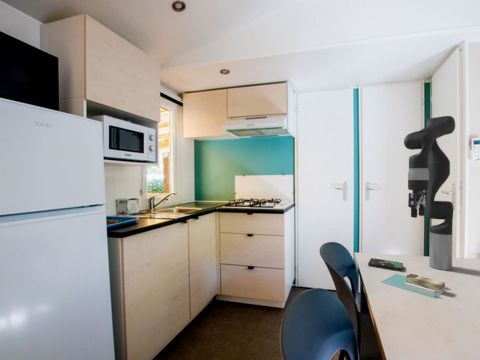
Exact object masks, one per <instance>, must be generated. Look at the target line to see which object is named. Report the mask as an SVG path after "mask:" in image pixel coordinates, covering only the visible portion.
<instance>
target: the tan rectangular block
mask: <svg viewBox="0 0 480 360" xmlns="http://www.w3.org/2000/svg"><path fill="white" fill-rule="evenodd" d="M405 276H406V283H410V284H414V285H417V286H421V287H424V288H428V289H432V290H435V293H438V294H441V295H442V294H444V293H445V292H446V291H445V287H446V282H445V281H440V280H436V279H432V278H430V277H429V278H428V277H425V276H421V275H418V274H414V273H409V274H407V275H405ZM443 292H444V293H443Z"/></svg>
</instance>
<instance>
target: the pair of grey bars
mask: <svg viewBox="0 0 480 360" xmlns="http://www.w3.org/2000/svg"><path fill="white" fill-rule="evenodd" d="M405 288H406V289H410V290H413V291H416V292H420V293H423V294H427V295H430V296H433V297H434V296H435V290H432V289H428V288H424V287H421V286H417V285H414V284H410V283H405Z"/></svg>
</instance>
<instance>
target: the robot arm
mask: <svg viewBox="0 0 480 360" xmlns="http://www.w3.org/2000/svg"><path fill="white" fill-rule="evenodd" d="M455 129H456V120H455V118H454V117H453V116H451V115H444V116H437V117H431V118H429V119H427V121H426V127H423V128H422V129H420V130H418V131H413V132H410V133H408V134H407V135H406V136H405V137H404V139H403V146H404V147H405V148H406V149H408V150H410V151H411V150H420V152H418V153H416V154H412V155H410V156H409V158H408V173H407V189H408V190H409V191H412V192H409V193H408V202H407V203H408V208H410V217H411V218H415V219H416V218H418V216H419V217H425V215H426V216H427V218H428V219H431V220H443V222H441V223H439V224H434V225H431V226H429V254H428V255H429V258H428V259H429V262H428V263H429V265H428V266H429V267H430V268H434V269H437V270H443V271H451V270H453V223H454V222H453V219H454V205H453V202H452V201H448V200H435V198H436V196H437V193H438V192H439V189H441V187H442V186H443V185H444V184H445V183H446V181H447V180H448V178H449V177H450V173H451V161H450V159H449V158H448V156H447V155H446V153H445V152H444V151H443V150H442V148H440V145H439V144H438V141H437V140H438V139H439V138H441V137H443V136H447V135H451V134H452V133H454V131H455Z"/></svg>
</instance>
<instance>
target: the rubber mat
mask: <svg viewBox="0 0 480 360" xmlns="http://www.w3.org/2000/svg"><path fill="white" fill-rule="evenodd" d="M406 276H407V275H402V274H399V273H394V275H391V276H389V277H387V278H385V279H384V280H382V281H381V280H380V283H381V284H385V285H388V286H392V287H396V288H398V289H402V290H405V291H409V292H411V293H415V294H418V295H422V296H425V297H428V298H431V299H435V300H436V299H438V298H439V297H440V296H441V295H442V294H444V293H445V292H446V291H448V290H449V289H450V287H447V286H445V292H443V293H442V294H438V293H435V296H434V297H433V296H430V295H427V294H423V293H420V292H416V291H413V290H410V289H406V288H405V283H406Z"/></svg>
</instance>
